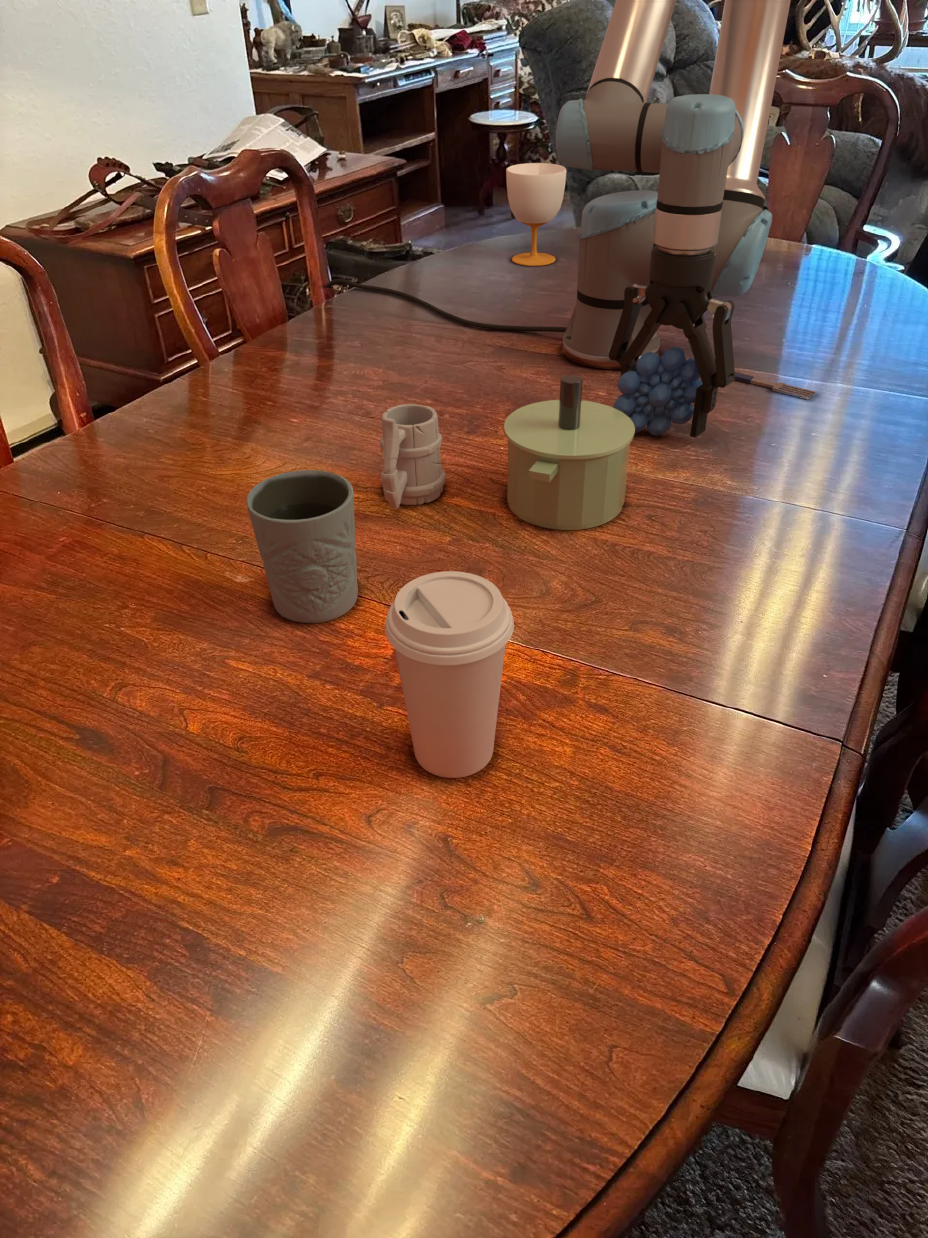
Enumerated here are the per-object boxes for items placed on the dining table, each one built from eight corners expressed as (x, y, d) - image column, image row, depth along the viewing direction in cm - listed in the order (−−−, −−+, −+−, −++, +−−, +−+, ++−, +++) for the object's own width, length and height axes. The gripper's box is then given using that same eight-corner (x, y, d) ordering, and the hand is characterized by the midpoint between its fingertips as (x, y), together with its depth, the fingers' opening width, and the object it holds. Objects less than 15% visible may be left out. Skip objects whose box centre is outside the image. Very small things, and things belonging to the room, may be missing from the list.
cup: (501, 267, 185) (502, 174, 175) (508, 251, 194) (509, 162, 184) (559, 268, 183) (564, 175, 173) (564, 252, 192) (568, 163, 182)
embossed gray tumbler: (321, 639, 88) (306, 531, 81) (242, 608, 92) (221, 503, 85) (383, 587, 95) (375, 483, 88) (308, 560, 99) (293, 459, 92)
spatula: (674, 366, 141) (674, 362, 141) (682, 361, 143) (682, 357, 143) (807, 399, 130) (808, 395, 130) (815, 393, 132) (816, 389, 132)
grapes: (698, 423, 125) (711, 336, 118) (701, 445, 120) (715, 355, 112) (611, 419, 126) (619, 333, 119) (610, 440, 121) (618, 351, 114)
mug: (453, 480, 113) (451, 387, 106) (421, 528, 104) (416, 430, 97) (395, 472, 115) (389, 380, 108) (359, 518, 106) (349, 422, 99)
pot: (480, 527, 104) (479, 455, 99) (538, 456, 118) (541, 389, 112) (596, 552, 99) (602, 477, 94) (642, 475, 113) (650, 406, 108)
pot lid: (483, 450, 101) (483, 393, 97) (530, 400, 111) (532, 347, 107) (612, 474, 96) (617, 415, 92) (648, 419, 106) (655, 364, 103)
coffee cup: (394, 714, 79) (381, 569, 70) (504, 706, 80) (506, 561, 71) (397, 797, 72) (383, 646, 63) (519, 788, 72) (522, 636, 63)
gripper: (786, 253, 105) (753, 435, 118) (620, 226, 117) (606, 394, 130) (758, 269, 100) (727, 456, 114) (587, 239, 112) (577, 412, 125)
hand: (663, 423), depth 122 cm, fingers closed on grapes, 9 cm apart
